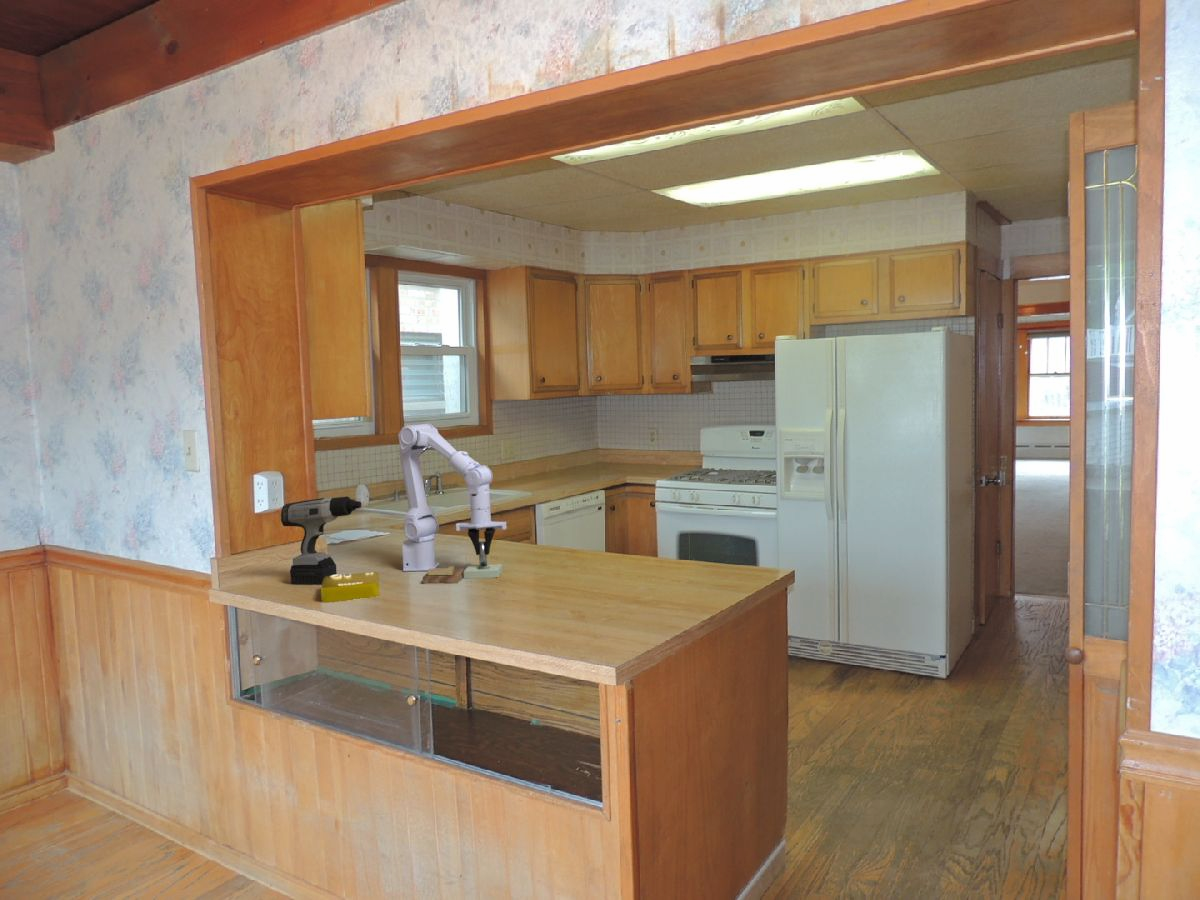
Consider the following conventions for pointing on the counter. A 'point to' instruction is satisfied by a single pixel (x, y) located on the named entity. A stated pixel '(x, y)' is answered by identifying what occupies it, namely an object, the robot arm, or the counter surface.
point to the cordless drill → (314, 535)
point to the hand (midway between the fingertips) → (482, 554)
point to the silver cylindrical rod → (482, 554)
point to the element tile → (350, 587)
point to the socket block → (444, 577)
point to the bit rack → (483, 571)
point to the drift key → (441, 571)
